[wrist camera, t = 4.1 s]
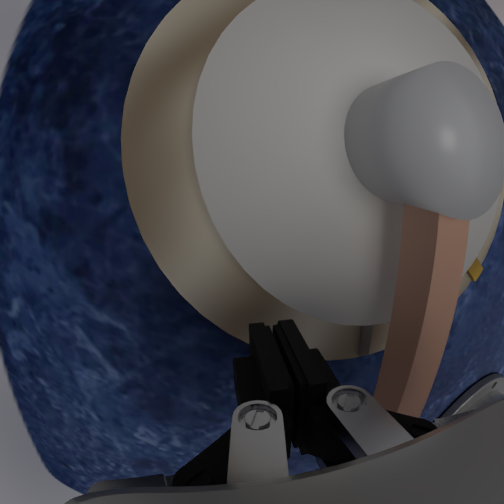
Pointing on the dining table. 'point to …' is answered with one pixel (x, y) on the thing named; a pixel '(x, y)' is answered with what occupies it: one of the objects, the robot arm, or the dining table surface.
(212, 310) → the dial base
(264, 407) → the robot arm
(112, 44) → the dining table surface
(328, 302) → the dial
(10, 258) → the dining table surface
